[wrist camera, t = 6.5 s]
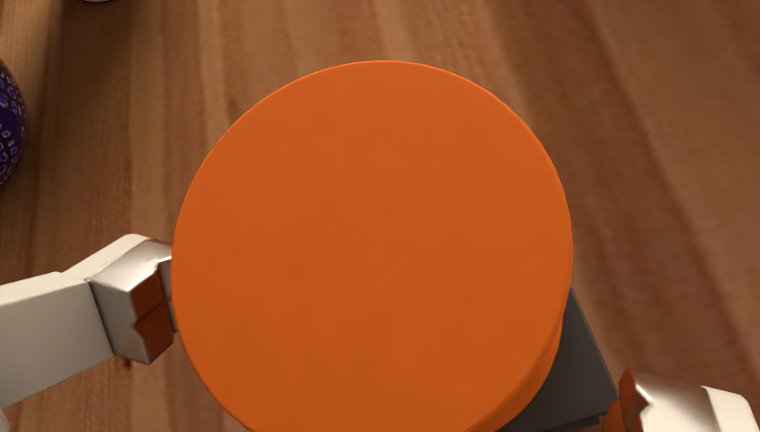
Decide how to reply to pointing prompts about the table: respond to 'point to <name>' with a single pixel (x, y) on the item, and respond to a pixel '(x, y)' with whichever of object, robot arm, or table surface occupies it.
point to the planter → (11, 122)
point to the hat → (374, 257)
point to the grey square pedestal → (569, 382)
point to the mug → (96, 0)
